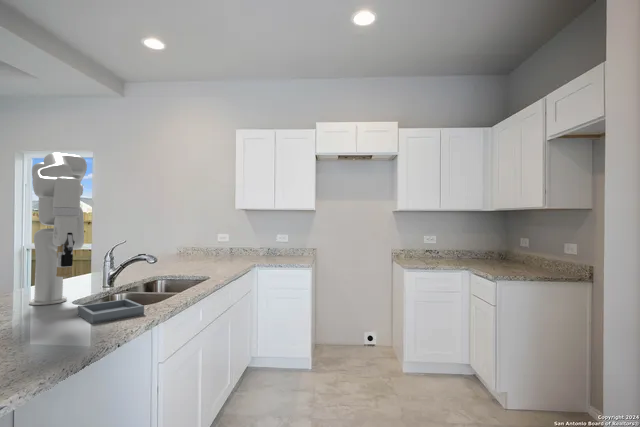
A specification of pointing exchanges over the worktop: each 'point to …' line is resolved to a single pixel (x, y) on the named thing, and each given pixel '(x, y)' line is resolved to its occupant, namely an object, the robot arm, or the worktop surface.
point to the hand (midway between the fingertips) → (64, 264)
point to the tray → (110, 310)
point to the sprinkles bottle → (62, 270)
